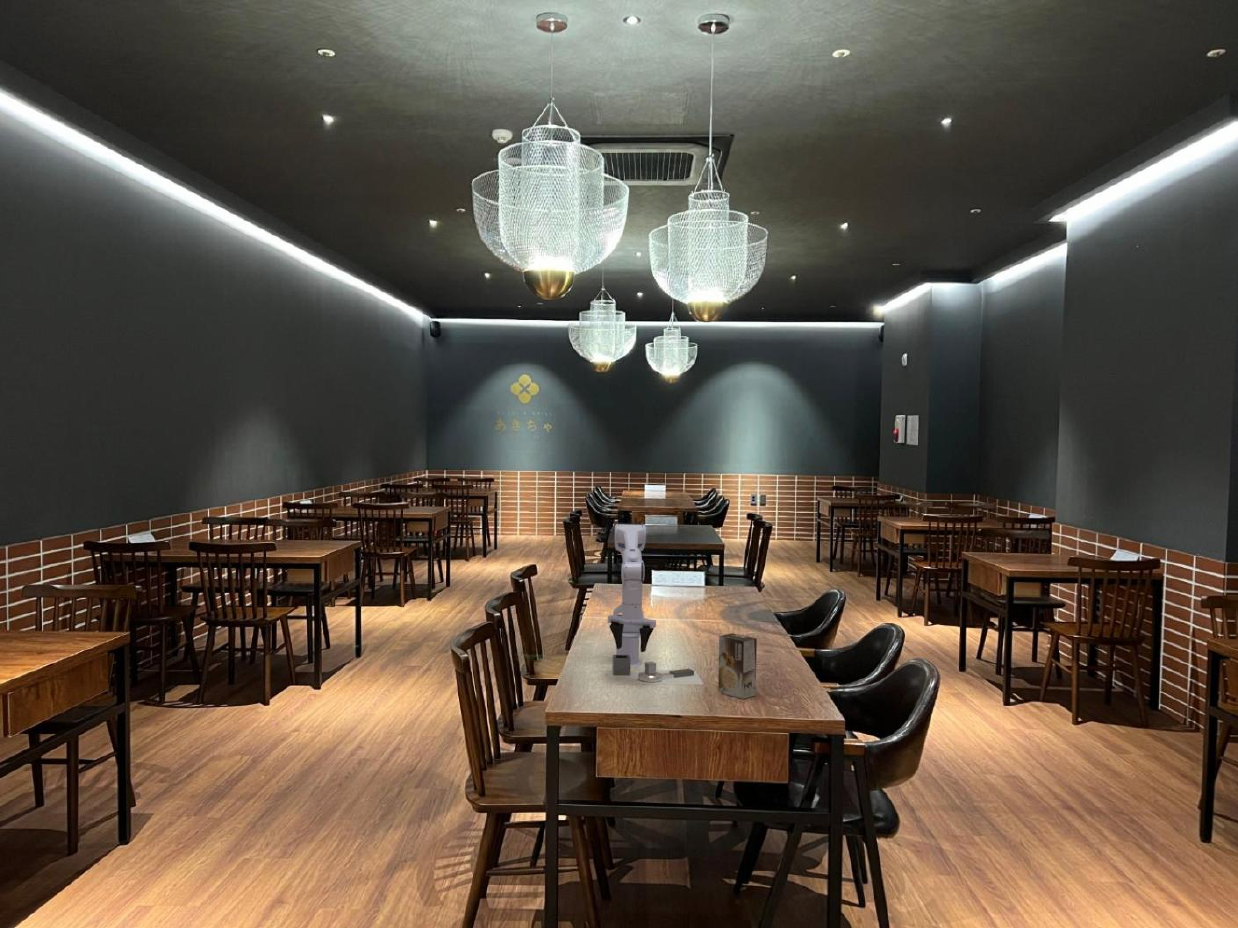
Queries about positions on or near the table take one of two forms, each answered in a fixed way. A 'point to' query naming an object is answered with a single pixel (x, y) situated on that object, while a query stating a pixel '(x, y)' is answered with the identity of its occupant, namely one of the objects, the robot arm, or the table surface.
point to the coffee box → (737, 665)
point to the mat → (634, 680)
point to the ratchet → (653, 676)
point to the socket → (621, 665)
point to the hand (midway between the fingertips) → (631, 649)
